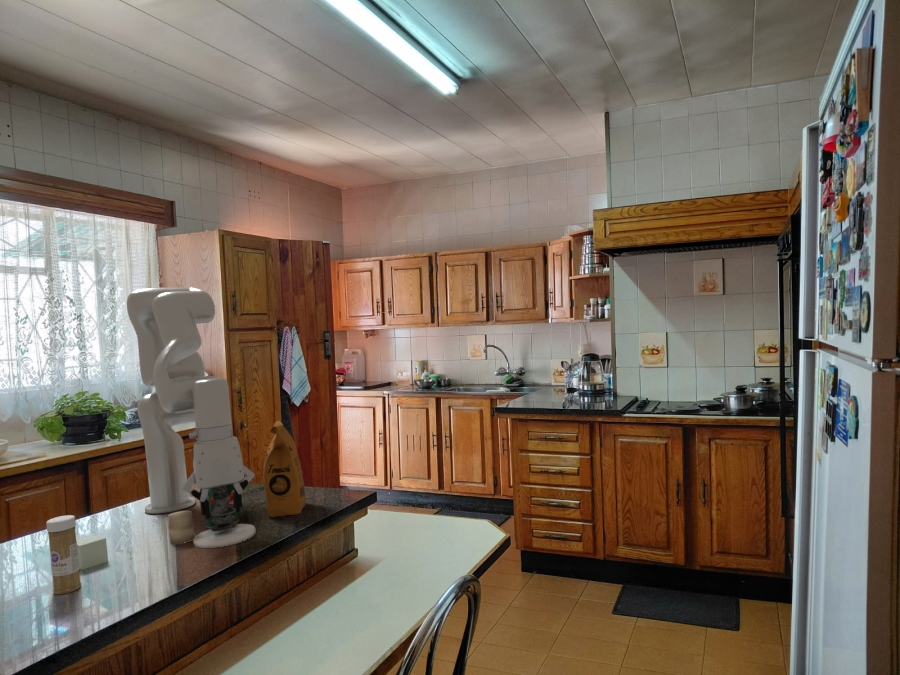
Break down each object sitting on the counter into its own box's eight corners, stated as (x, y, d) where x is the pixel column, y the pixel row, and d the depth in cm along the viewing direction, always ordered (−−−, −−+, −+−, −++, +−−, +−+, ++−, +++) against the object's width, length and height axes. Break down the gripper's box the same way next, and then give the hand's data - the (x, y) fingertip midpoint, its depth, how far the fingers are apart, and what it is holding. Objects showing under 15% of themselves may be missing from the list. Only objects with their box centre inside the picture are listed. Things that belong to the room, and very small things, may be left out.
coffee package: (261, 520, 152) (252, 429, 152) (269, 506, 164) (261, 422, 164) (303, 515, 153) (294, 424, 153) (308, 501, 166) (300, 418, 165)
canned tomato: (225, 528, 148) (220, 482, 148) (197, 528, 150) (193, 482, 150) (246, 518, 155) (241, 473, 155) (219, 517, 158) (215, 473, 158)
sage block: (72, 566, 131) (70, 542, 131) (98, 557, 135) (95, 534, 135) (82, 570, 128) (79, 545, 128) (108, 561, 132) (105, 538, 132)
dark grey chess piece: (209, 526, 142) (204, 473, 142) (237, 521, 144) (232, 469, 144) (209, 533, 137) (204, 478, 137) (238, 528, 139) (233, 474, 139)
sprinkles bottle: (47, 596, 115) (40, 522, 115) (63, 585, 120) (56, 515, 120) (72, 594, 115) (65, 520, 115) (87, 583, 120) (80, 513, 119)
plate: (189, 538, 143) (188, 533, 143) (247, 524, 150) (247, 519, 150) (199, 553, 132) (198, 547, 132) (262, 537, 138) (261, 532, 138)
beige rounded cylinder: (168, 540, 143) (166, 514, 142) (192, 535, 145) (189, 509, 145) (171, 546, 138) (169, 519, 138) (196, 540, 141) (193, 513, 141)
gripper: (175, 442, 133) (183, 527, 133) (258, 429, 142) (265, 509, 142) (170, 438, 139) (178, 519, 139) (250, 426, 148) (257, 502, 148)
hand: (222, 513), depth 141 cm, fingers closed on dark grey chess piece, 5 cm apart
